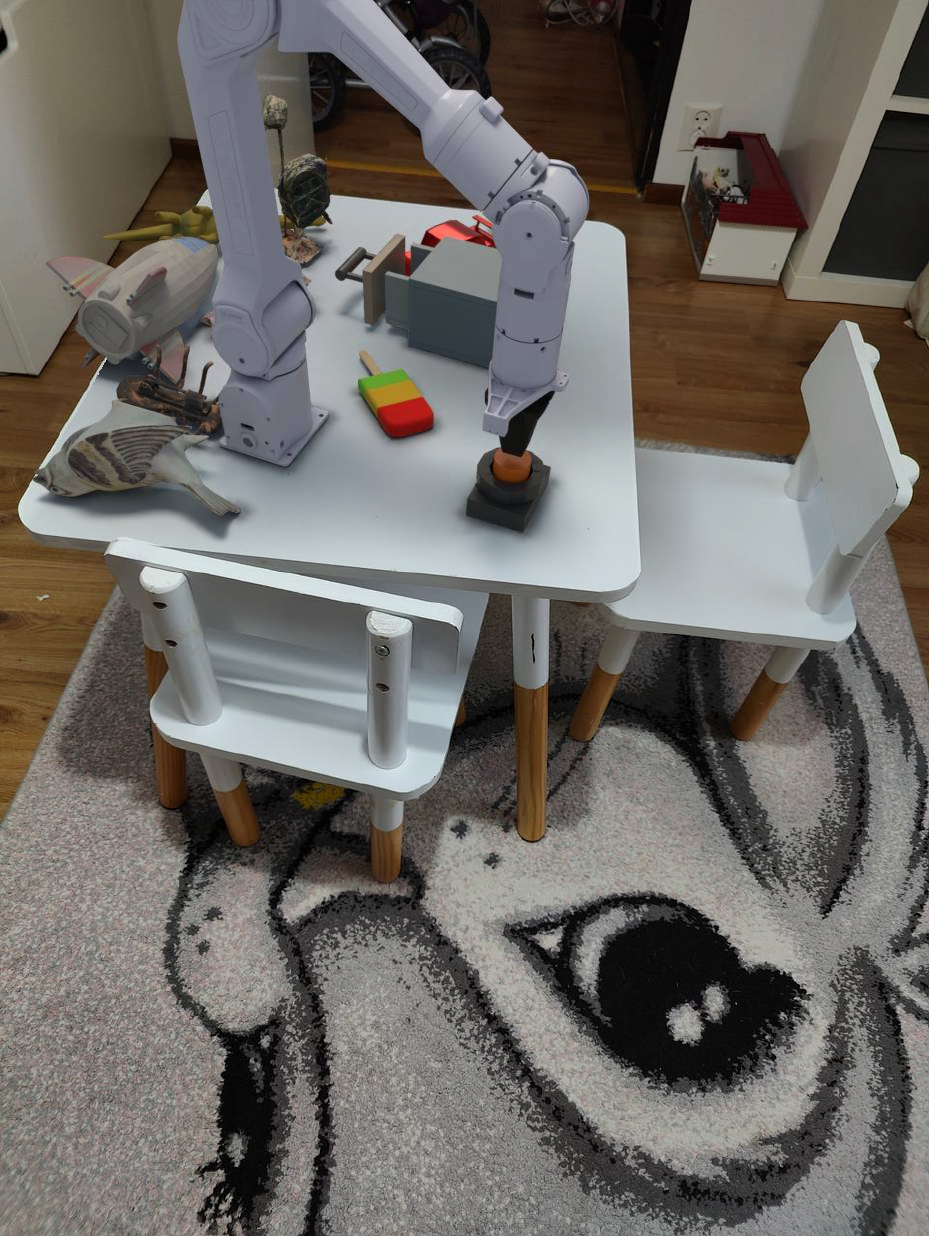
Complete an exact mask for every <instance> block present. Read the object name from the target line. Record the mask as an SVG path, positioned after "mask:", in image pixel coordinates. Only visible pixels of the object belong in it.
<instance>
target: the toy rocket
mask: <svg viewBox="0 0 929 1236" xmlns="http://www.w3.org/2000/svg"><path fill="white" fill-rule="evenodd" d="M218 255H219V254H218V248H217V246H216V245H214V244H209V243H208V242H206V241H204V240H201V239H199V238H194V237H179V238H171V239H169V240H161V241H159V240H157V241H156V242H154V243H153V242H152V243H151V244H148V245H146V246H144V247H142V248H140V249H139V250H137V251H135V252H134V253H133V254H131V255H130V256H129V257H128V258H126V259H125V261H123V262H122V263H120V264H119V265H118V266H117V267H115V268H114V267H112V266H110V265H108V264H106V263H104V262H101V261H98V260H94V259H92V258H87V257H83V256H73V255H72V256H71V255H70V256H58V257H56V258H53V259H50V260H48V261H46V262H45V265H46V267H48V268H49V269H50V270H51V271H52V272H53V273H54V274H56V276H58V278H59V279H61V280H62V281H63V282H64V283H65V284H64V285H62V289H63V291H64V292H68V291H69V292H68V295H69V297H71V298H74V297H75V296H76V295H78V296H79V297H80V298H81V299H82V300H83V303H82V304H81V306H80V307H79V310H78V313H77V323H76V324H75V331H76V333H77V334H78V335H79V336H81V337H83V338H84V339H85V340H86V342H87V343H88V344H89V345H90V346H91V348H92V349H90V350H88V351H87V354H86V355H84V360H83V362H82V363H80V366H79V368H80V369H85V368H86V367H87V366H89V365H90V364H91V363H92V362H93V361H94V360H96V358H98V357H99V356H100V355H103V356H105V358H106V360H107V362H109V363H110V364H112V365H117V364H119V363H120V362H122V360H124V359H125V358H127V357H130V356H132V355H135V354H136V353H139V352H140V354H142V355H143V356H144V357H143V358H142V359H141V362H142V364H144V365H147V368H148V369H149V370H154V368H155V365H156V360H157V349H156V345H157V344H158V345H160V347H161V350H162V359H161V365H160V368H159V372H161V373H162V374H163V375H164V376H166V378H168V379H169V380H170V381H171V382H172V383H173V384H174V385H176V384H177V383H178V382H180V378H181V372H182V365H183V355H184V350H185V344H184V341H183V338H182V336H181V333H180V332H179V329H178V327H179V326H180V325H182V324H183V323H184V322H186V321H187V320H189V318H191V317H192V316H193V315H194V314H195V313H196V312H197V311H198V310H199V308H200V307H201V306H202V304H203V303H204V302H205V300H206V298H207V297H208V295H209V293H210V291H211V289H212V288H213V285H214V282H215V279H216V275H217V272H218V271H217V270H218V266H219V265H218V264H219V256H218ZM70 289H71V290H70ZM147 363H148V364H147Z"/></svg>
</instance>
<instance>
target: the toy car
mask: <svg viewBox="0 0 929 1236" xmlns="http://www.w3.org/2000/svg"><path fill="white" fill-rule="evenodd" d="M471 218H472V220H475V221H476V223H475V225H471V226H468V225H466V224H464V223H463V222H461V221H460V220H457V219H448V220H446V221H444V222H441V223H438V224H436V225H433V226H431V227H429V228H428V229H426V230H425V232H424V234H423V236H422V239H421V242H420V244H421V245H425V246H429V247H432V248H435V247H436V246H437V244H438V243H439V242H440V241H441V240H442V239H443V237H444V236H448V237H452V238H456V239H460V240H464V241H468V242H472V243H476V244H480V245H484V246H488V247H492V248H496V245H495V243H494V240H493V235H492V233H491V234H490V233H489V232H487V231H486V230H484V229H482V228H481V227H480V225H481V224H482V226H485V227H487V228H488V229H490V230H492V225H493V223H492V222H490V221H489V220H488V219H486V218H484V217H482V216H480V215H478V214H475V215H472V216H471ZM496 249H497V248H496ZM405 276H408V277H410V276H411V249H410V250H408V251H405Z"/></svg>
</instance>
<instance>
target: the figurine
mask: <svg viewBox="0 0 929 1236" xmlns="http://www.w3.org/2000/svg"><path fill="white" fill-rule="evenodd" d="M192 430H193V427H192V426H190V425H186V426H182V425H178V423H177V421H176V422H175V421H174V420H173V419H172V417H171V416H169V415H166V414H164V415H163V414H160V413H157V412H153V411H150V410H147V409H143V408H140V407H136V406H133V405H130V404H126V403H123V402H119V401H117V399H112V401H111V408H110V411H108V413H107V414H106V415H105V416H104V417H102V418H101V419H99V420H98V421H96V422H95V423H93V424H91V425H88V426H85V427H82V428H80V429H78V430H77V431H75V432H73V433H72V434H71V435H70V436H69V437H68V438H67V439H66V440H65V441H64V443H63V444H62V446H61V448H60V451H58V452H56V454H54V455H53V456H52V457H51V458H50V460H49V461H48V462H47V463H46V465H44V467H41V468H38V469H36V470H34V472H33V473H34V474H35V476H34V477H33V478H32V481H33V482H34V483H36V484H37V485H41V486H42V487H43V488H45V490H47V491H48V492H49V493H51V494H53V495H57V496H63V497H70V498H75V497H80V496H84V495H85V494H88V493H91V492H94V491H97V490H100V491H105V492H116V491H123V490H129V489H134V488H142V487H146V486H151V485H155V484H158V483H171V484H174V485H176V486H179V487H181V488H183V489H185V490H187V491H189V492H190V493H191V494H192V495H193V496H194V497H196V499H198V500H199V501H200V502H201V503H202V504H203V505H204V506H205V507H206V508H208V509H209V510H210V511H211V512H212V513H214V514H216V515H218V516H219V517H221V516H224V515H225V514H227V513H228V512H230V513H231V512H232V513H234V514H239V513H241V511H242V509H241V508H240V507H238V506H237V505H236V504H235V503H232V502H231V501H229V500H227V499H225V498H224V497H222V496H221V495H219V494H218V493H216V492H214V491H213V490H212V489H210V488H209V487H208V486H207V485H206V484H204V482H203V480H202V479H201V478H200V476H199V475H198V473H197V471H196V470H195V468H194V466H193V465H192V464H191V461H190V460H189V459H188V457H187V455H186V451H188V450H189V449H190V448H192V447H193V446H197V445H199V444H201V443H204V442H206V441H207V440H208V439H209V435H201V434H200V435H195V434H189V435H185V434H184V433H186V432H188V433H189V432H190V431H192Z"/></svg>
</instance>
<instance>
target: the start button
mask: <svg viewBox="0 0 929 1236" xmlns="http://www.w3.org/2000/svg"><path fill="white" fill-rule="evenodd" d="M530 467H531V455H530V454H529V453H528V452H527V451H525V452H524V454H523V456H522V457H517V456H514V455H510V454H507V453H504V452H502V449H501V448H500V449H498V450H497V451H496V453H495V455H494V463H493V473H494V475H495V477H496V478H497V479H498V480H501V481H504V482H508V483H521V482H523V481H525V480H526V479H527V478H528V477H529V474H530Z"/></svg>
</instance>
